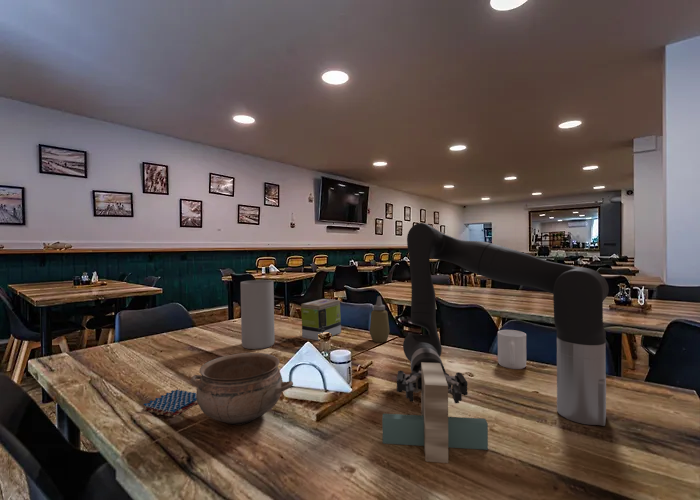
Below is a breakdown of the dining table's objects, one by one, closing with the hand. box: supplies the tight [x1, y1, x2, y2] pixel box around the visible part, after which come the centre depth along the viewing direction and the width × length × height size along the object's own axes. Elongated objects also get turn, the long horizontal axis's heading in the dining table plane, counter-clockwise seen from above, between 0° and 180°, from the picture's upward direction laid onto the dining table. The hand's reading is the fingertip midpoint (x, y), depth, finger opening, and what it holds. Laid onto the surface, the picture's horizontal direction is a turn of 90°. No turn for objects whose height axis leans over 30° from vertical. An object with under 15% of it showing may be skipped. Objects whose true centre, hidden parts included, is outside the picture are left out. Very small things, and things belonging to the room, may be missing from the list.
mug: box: [497, 329, 527, 370], centre depth 111 cm, size 12×8×10 cm
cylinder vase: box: [240, 279, 276, 350], centre depth 139 cm, size 12×12×25 cm
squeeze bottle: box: [369, 295, 390, 343], centre depth 142 cm, size 8×8×18 cm
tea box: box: [300, 298, 342, 341], centre depth 152 cm, size 15×10×15 cm, turn 144°
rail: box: [381, 413, 489, 451], centre depth 70 cm, size 20×2×5 cm, turn 82°
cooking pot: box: [190, 352, 294, 426], centre depth 81 cm, size 25×19×12 cm
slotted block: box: [420, 362, 449, 464], centre depth 70 cm, size 12×4×14 cm, turn 172°
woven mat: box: [142, 389, 198, 418], centre depth 88 cm, size 10×11×2 cm
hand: (434, 397), depth 68 cm, fingers open, 8 cm apart
